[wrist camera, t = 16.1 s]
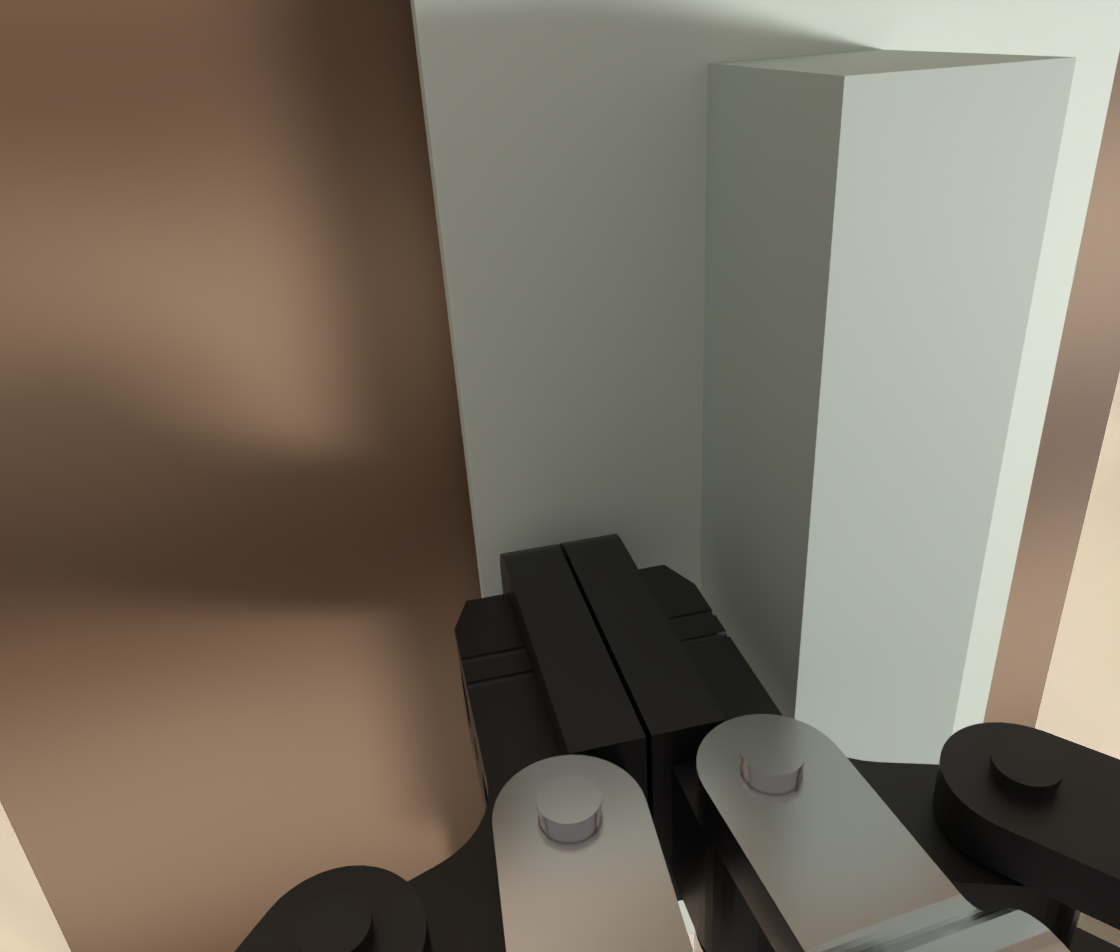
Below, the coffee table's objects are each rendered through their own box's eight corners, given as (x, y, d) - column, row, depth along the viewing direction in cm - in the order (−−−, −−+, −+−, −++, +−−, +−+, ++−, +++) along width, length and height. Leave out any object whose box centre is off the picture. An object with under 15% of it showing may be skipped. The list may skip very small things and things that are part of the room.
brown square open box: (851, 639, 24) (1009, 832, 18) (176, 764, 21) (112, 1039, 15) (935, -135, 16) (1261, -225, 10) (-114, -90, 13) (-463, -179, 8)
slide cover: (934, 846, 17) (1065, 1030, 14) (522, 941, 16) (564, 1166, 13) (1123, -172, 10) (1485, -265, 7) (392, -144, 9) (417, -243, 6)
